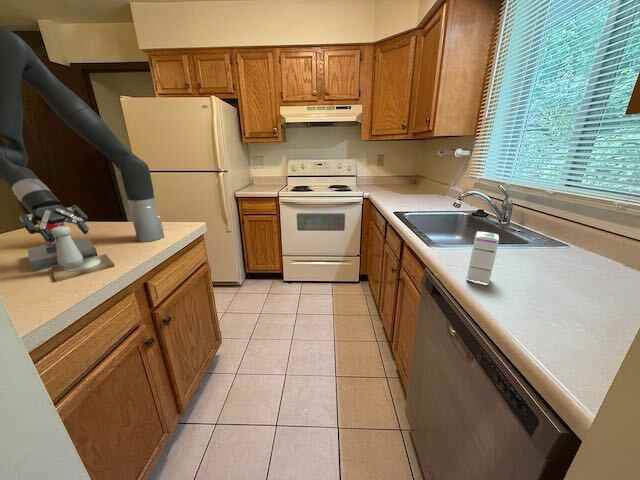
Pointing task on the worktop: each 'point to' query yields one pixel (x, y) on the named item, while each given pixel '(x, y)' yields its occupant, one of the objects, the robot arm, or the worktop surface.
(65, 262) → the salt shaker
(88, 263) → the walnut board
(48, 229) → the soda can
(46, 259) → the collar block
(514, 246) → the worktop surface
